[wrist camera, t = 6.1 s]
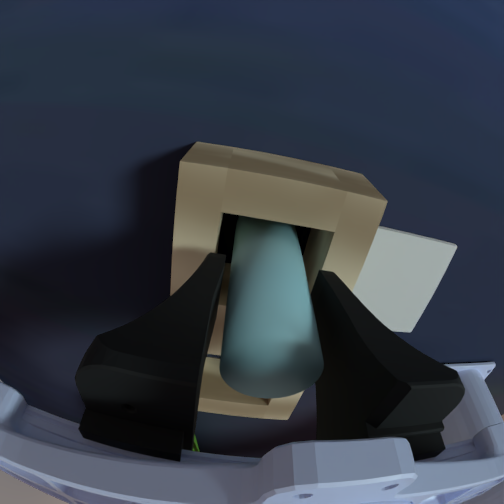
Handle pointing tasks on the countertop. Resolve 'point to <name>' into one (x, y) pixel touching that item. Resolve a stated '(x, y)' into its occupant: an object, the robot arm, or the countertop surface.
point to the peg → (269, 314)
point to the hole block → (275, 209)
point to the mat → (401, 276)
